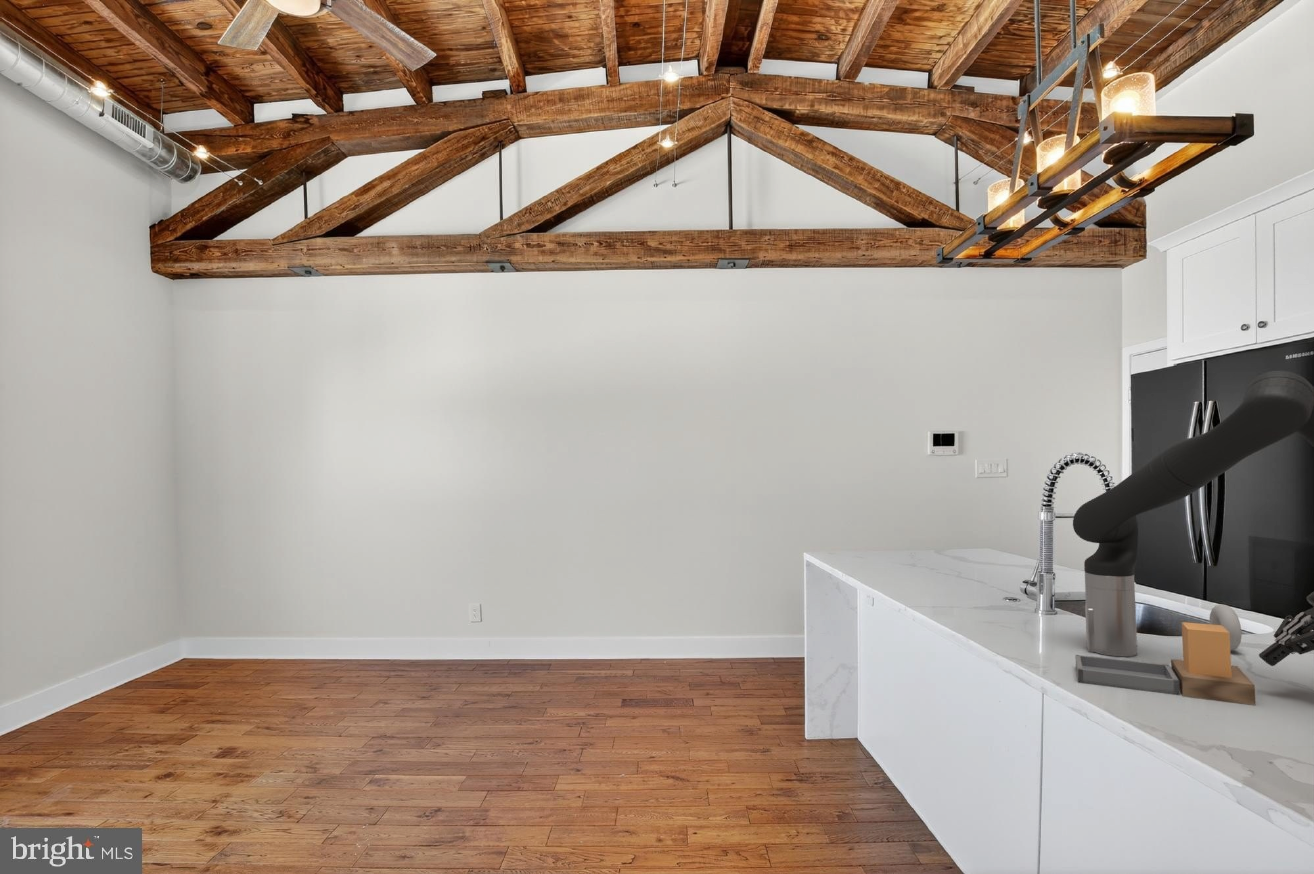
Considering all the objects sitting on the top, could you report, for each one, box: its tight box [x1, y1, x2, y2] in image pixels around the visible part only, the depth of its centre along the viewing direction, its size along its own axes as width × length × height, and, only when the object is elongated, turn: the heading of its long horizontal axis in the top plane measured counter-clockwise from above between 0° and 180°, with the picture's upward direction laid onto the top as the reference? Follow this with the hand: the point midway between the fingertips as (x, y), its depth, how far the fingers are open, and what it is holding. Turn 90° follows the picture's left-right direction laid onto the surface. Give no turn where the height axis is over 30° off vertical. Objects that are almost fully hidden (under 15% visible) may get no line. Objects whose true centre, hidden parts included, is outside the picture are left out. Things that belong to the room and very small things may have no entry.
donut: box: [1209, 603, 1242, 652], centre depth 150 cm, size 10×4×10 cm, turn 158°
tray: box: [1074, 654, 1181, 696], centre depth 131 cm, size 16×11×2 cm
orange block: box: [1181, 621, 1232, 678], centre depth 125 cm, size 6×6×8 cm
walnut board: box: [1170, 658, 1256, 706], centre depth 125 cm, size 10×12×4 cm
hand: (1264, 660), depth 121 cm, fingers closed
